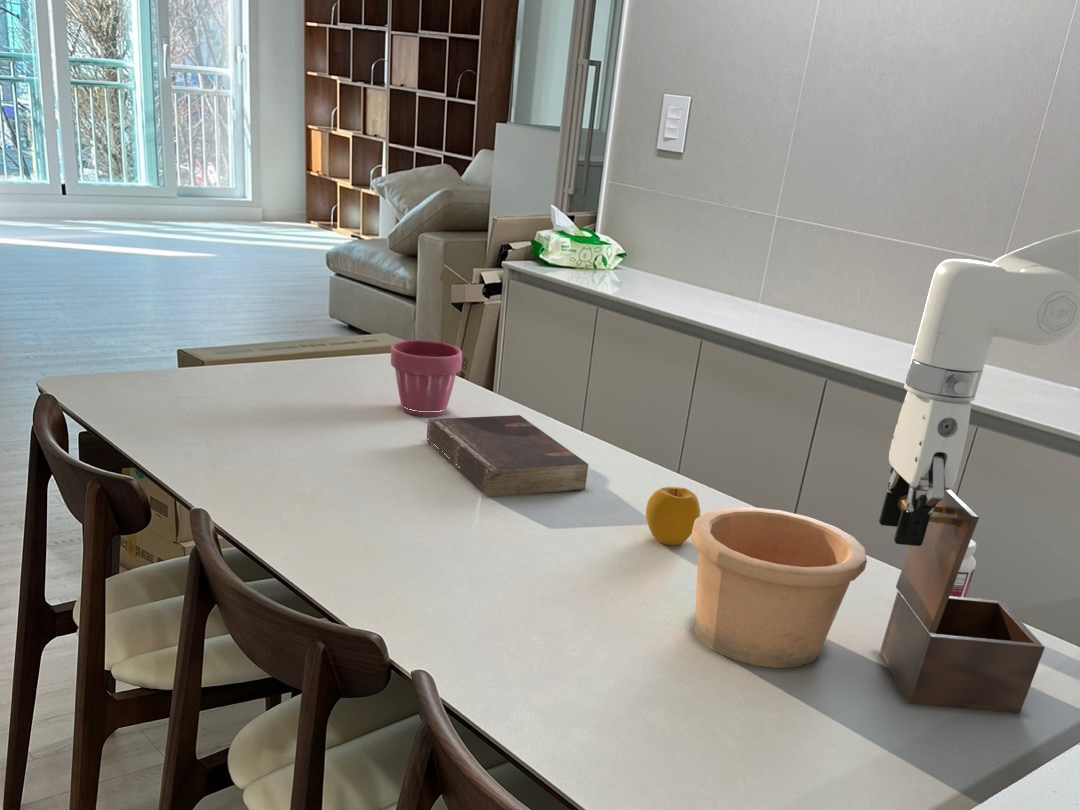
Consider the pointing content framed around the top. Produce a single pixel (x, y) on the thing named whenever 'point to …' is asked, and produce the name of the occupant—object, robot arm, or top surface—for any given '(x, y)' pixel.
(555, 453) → the hardback book
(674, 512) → the apple
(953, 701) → the chest
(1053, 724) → the top surface
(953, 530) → the lid
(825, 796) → the top surface
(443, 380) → the flower pot
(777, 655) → the pottery
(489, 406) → the top surface
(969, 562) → the pill bottle
